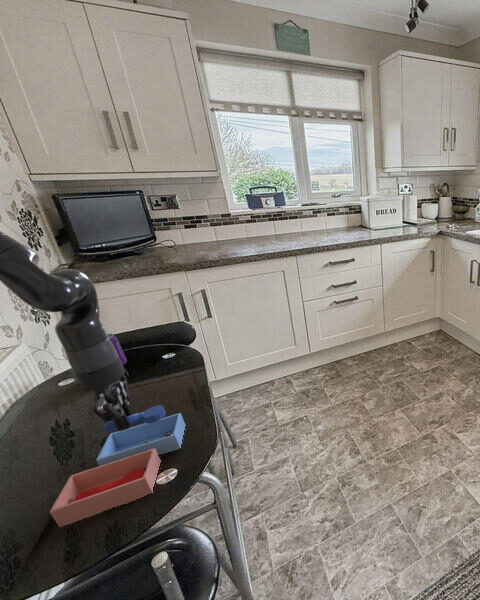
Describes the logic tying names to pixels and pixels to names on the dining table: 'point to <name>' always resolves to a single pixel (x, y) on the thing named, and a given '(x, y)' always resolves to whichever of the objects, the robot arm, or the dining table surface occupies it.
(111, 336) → the beverage can
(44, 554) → the dining table surface
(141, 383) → the dining table surface
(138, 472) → the red spoon
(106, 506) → the rose bin
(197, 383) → the dining table surface
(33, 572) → the dining table surface
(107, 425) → the blue spoon
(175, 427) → the blue bin
